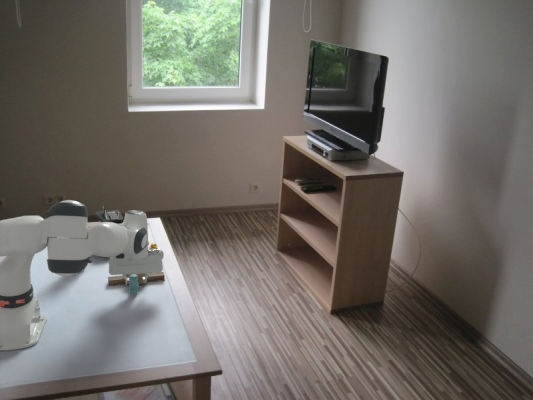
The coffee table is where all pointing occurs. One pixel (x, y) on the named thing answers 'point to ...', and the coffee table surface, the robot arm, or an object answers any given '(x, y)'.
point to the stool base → (152, 278)
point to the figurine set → (152, 246)
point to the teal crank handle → (133, 284)
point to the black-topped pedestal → (110, 216)
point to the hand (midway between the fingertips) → (136, 282)
